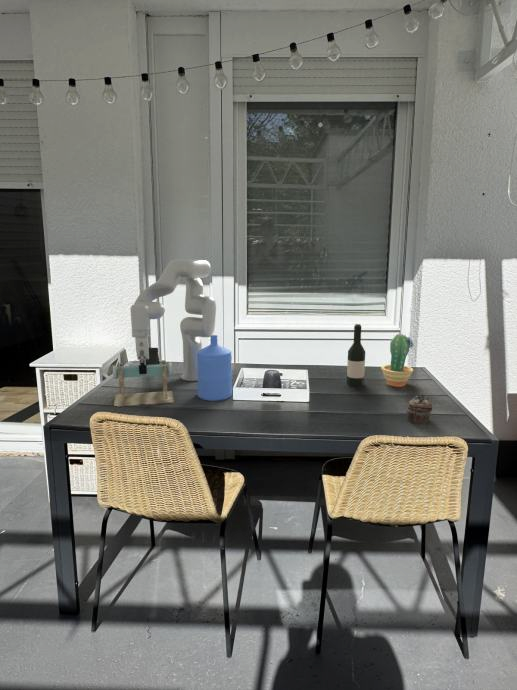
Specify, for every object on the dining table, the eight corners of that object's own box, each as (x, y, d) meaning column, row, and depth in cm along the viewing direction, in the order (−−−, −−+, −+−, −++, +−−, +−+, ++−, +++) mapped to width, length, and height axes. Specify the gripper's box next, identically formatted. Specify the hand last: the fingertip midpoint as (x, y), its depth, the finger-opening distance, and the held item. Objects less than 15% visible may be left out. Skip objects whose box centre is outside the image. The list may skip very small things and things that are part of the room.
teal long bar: (171, 373, 221) (171, 360, 220) (172, 377, 215) (171, 364, 214) (114, 377, 216) (113, 364, 214) (113, 381, 210) (112, 367, 209)
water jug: (227, 402, 215) (226, 340, 208) (193, 400, 218) (191, 338, 212) (235, 391, 230) (235, 333, 223) (203, 389, 233) (202, 331, 226)
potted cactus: (405, 390, 231) (409, 338, 226) (375, 384, 241) (377, 334, 235) (417, 383, 243) (420, 333, 238) (387, 377, 253) (390, 330, 247)
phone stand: (156, 371, 264) (155, 349, 261) (145, 371, 264) (144, 349, 261) (160, 367, 273) (159, 346, 270) (149, 366, 273) (148, 345, 270)
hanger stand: (172, 393, 226) (170, 359, 223) (173, 402, 215) (172, 366, 211) (116, 397, 221) (113, 362, 217) (114, 406, 209) (111, 369, 206)
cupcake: (425, 415, 200) (427, 391, 198) (434, 424, 190) (436, 399, 188) (402, 415, 200) (403, 392, 197) (410, 424, 190) (412, 400, 188)
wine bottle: (362, 381, 245) (365, 322, 239) (364, 386, 237) (367, 326, 230) (346, 381, 246) (348, 322, 239) (347, 386, 238) (349, 325, 231)
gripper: (150, 336, 204) (152, 375, 208) (149, 328, 220) (151, 365, 224) (131, 337, 202) (133, 377, 206) (132, 329, 219) (134, 366, 223)
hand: (143, 370), depth 215 cm, fingers open, 9 cm apart
